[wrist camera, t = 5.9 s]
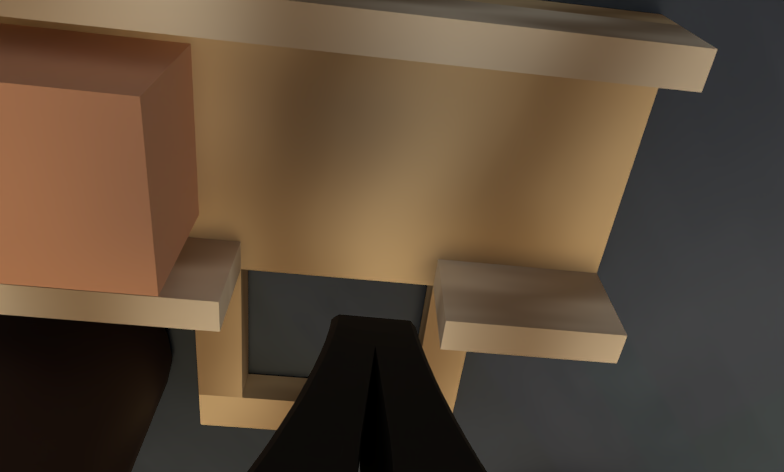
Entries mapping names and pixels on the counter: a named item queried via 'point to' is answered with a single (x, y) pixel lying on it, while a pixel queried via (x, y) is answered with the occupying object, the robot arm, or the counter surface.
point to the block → (94, 159)
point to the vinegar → (77, 393)
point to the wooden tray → (393, 169)
